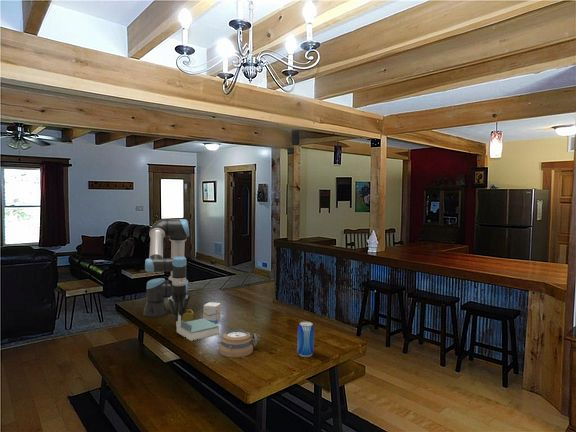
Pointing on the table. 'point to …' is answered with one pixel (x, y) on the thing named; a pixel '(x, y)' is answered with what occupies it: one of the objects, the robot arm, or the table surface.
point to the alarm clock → (237, 343)
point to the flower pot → (187, 316)
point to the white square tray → (198, 333)
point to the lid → (197, 325)
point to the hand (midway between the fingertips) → (178, 326)
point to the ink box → (212, 312)
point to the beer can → (305, 339)
